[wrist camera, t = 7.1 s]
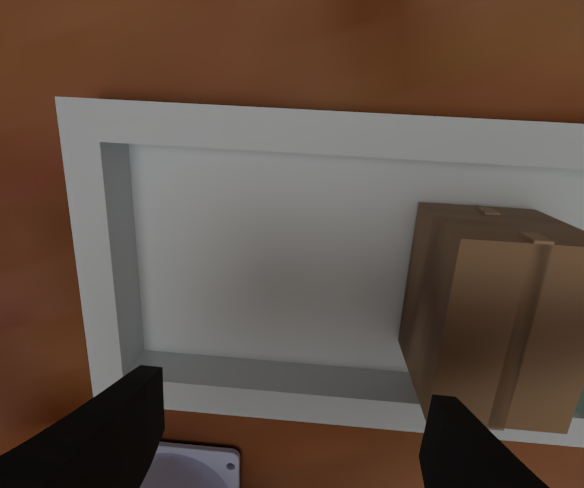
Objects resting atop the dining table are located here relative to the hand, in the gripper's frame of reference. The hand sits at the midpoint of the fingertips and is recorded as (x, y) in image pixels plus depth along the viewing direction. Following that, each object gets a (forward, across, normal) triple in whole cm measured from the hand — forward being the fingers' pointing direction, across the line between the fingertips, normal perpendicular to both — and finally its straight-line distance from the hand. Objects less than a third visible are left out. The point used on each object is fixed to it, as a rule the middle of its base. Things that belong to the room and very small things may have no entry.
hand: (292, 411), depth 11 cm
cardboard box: (+9, -7, -1) cm, 12 cm away
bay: (+10, -2, -1) cm, 10 cm away
